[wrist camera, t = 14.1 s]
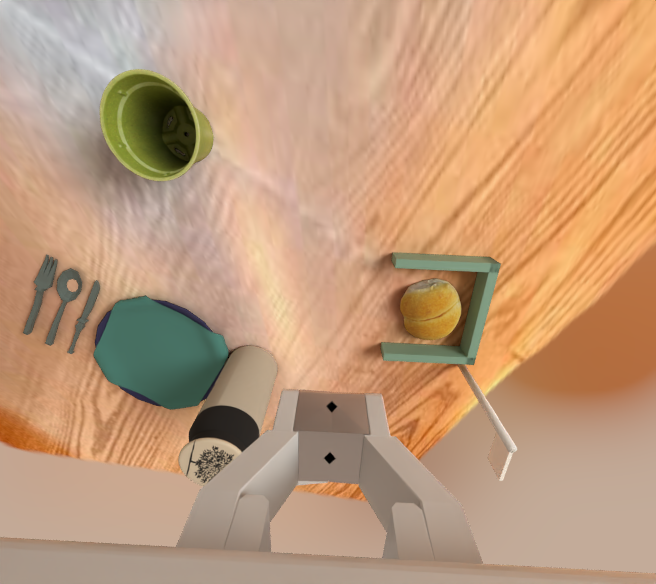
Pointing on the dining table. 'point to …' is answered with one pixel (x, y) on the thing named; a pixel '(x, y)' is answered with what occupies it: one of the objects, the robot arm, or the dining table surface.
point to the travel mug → (230, 414)
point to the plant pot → (153, 125)
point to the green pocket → (470, 338)
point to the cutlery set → (143, 344)
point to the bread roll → (430, 309)
